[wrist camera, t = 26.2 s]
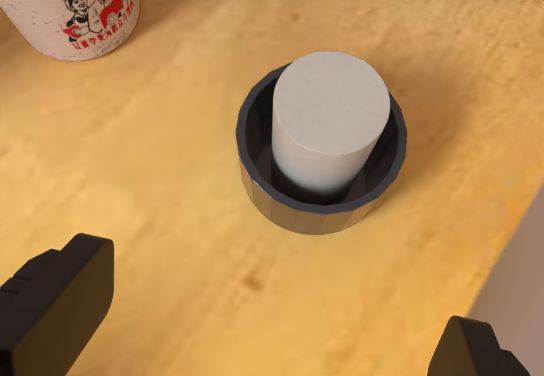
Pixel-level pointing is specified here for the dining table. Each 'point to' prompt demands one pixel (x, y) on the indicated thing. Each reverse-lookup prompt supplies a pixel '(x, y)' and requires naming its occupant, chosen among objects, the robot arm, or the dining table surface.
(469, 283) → the dining table surface
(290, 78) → the plain white cylinder
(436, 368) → the robot arm
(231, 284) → the dining table surface
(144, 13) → the dining table surface
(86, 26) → the teacup with lid
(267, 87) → the dark round open container
